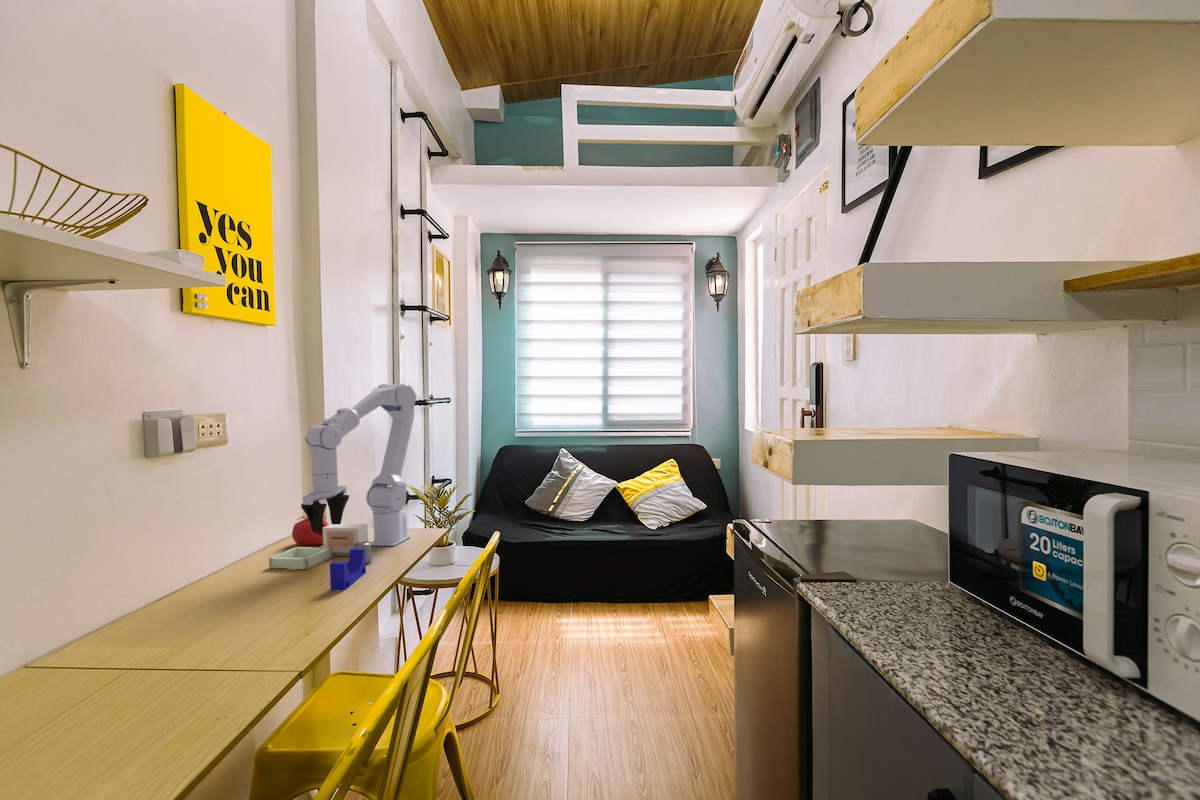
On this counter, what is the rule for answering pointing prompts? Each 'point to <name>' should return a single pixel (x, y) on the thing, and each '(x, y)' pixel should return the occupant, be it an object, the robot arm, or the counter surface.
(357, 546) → the coupling
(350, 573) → the blue cradle block
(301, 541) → the pomegranate
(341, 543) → the mounted housing
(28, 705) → the counter surface
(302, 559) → the parts tray
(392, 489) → the robot arm
